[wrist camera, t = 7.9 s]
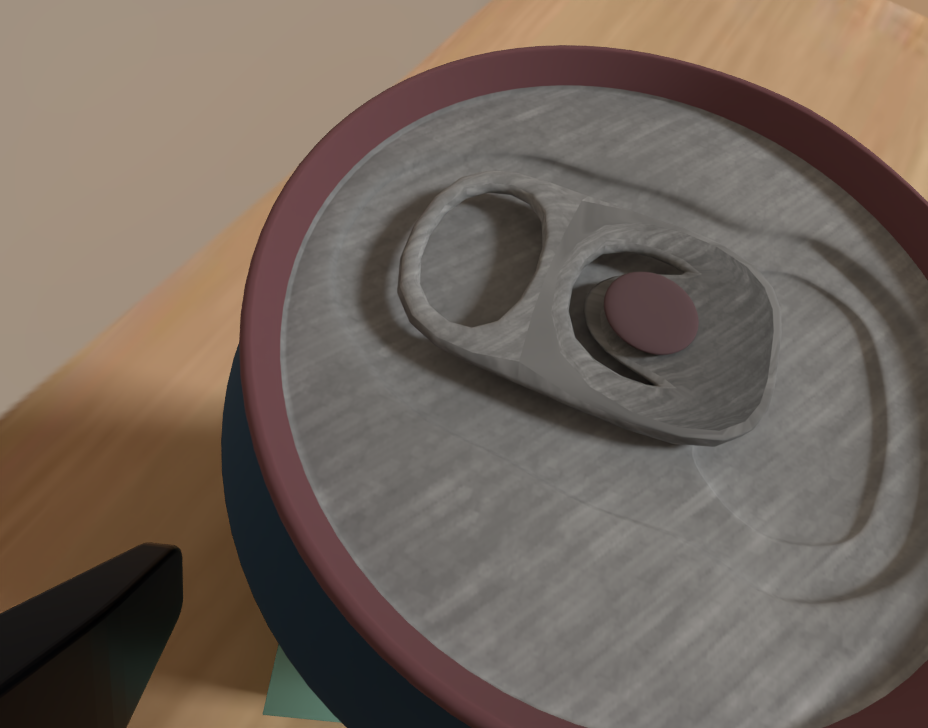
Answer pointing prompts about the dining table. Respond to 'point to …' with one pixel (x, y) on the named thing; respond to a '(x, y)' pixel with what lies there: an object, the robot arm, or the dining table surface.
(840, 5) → the dining table surface
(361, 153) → the soda can
